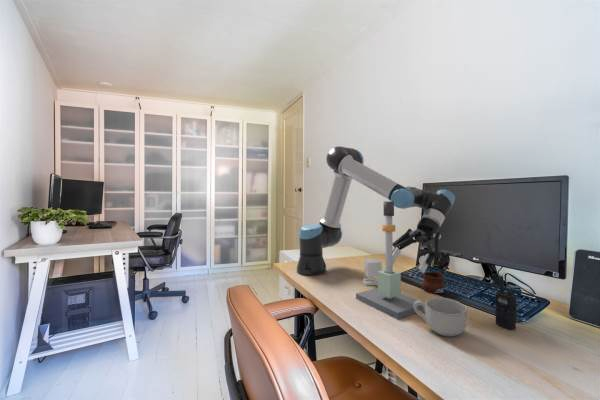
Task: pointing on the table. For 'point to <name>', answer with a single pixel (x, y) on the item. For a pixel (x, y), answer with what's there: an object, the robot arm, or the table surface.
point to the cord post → (398, 304)
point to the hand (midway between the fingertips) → (404, 266)
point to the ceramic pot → (432, 281)
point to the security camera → (372, 271)
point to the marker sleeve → (389, 284)
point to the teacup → (443, 315)
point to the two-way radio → (505, 307)
